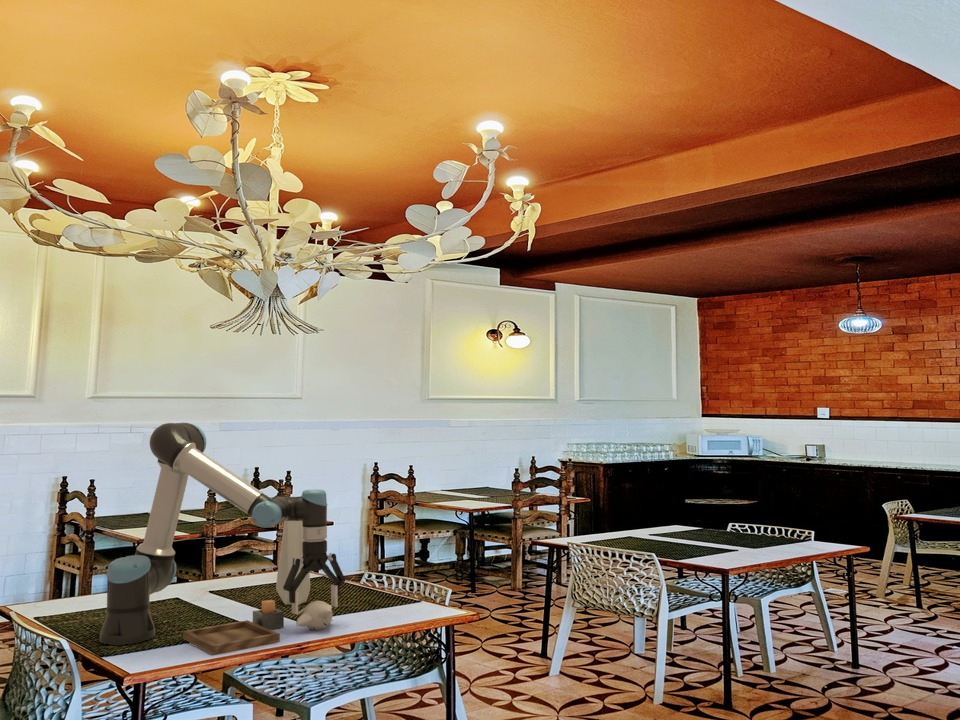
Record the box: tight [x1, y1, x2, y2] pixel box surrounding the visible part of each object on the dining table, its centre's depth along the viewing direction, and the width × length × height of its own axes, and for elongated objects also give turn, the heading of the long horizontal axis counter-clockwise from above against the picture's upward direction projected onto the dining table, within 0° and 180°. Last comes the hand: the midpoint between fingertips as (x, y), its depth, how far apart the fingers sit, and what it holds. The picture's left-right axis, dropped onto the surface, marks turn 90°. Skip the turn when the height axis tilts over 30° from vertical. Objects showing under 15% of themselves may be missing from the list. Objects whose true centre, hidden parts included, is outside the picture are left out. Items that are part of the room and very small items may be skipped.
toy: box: [296, 600, 335, 631], centre depth 254 cm, size 13×9×15 cm
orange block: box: [261, 599, 276, 614], centre depth 255 cm, size 4×4×5 cm
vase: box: [275, 521, 311, 606], centre depth 291 cm, size 12×12×33 cm
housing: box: [252, 607, 285, 631], centre depth 255 cm, size 7×7×5 cm
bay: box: [182, 619, 281, 656], centre depth 240 cm, size 20×22×2 cm
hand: (315, 609), depth 253 cm, fingers open, 13 cm apart
